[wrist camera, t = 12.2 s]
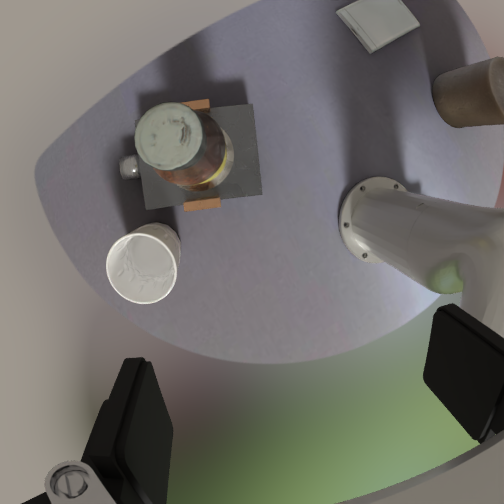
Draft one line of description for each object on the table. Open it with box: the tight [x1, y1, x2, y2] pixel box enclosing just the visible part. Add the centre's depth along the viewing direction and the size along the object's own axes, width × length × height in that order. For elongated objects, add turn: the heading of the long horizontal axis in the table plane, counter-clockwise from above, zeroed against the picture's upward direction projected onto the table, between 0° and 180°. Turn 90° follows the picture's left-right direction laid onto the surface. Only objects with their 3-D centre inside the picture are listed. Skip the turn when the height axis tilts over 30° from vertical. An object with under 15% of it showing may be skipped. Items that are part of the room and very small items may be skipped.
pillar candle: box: [432, 57, 504, 128], centre depth 34 cm, size 10×10×15 cm
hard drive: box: [336, 0, 420, 54], centre depth 36 cm, size 2×8×12 cm
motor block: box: [119, 99, 262, 212], centre depth 36 cm, size 17×12×7 cm
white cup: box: [106, 222, 181, 304], centre depth 38 cm, size 8×8×10 cm
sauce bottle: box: [134, 102, 227, 186], centre depth 26 cm, size 7×6×20 cm
